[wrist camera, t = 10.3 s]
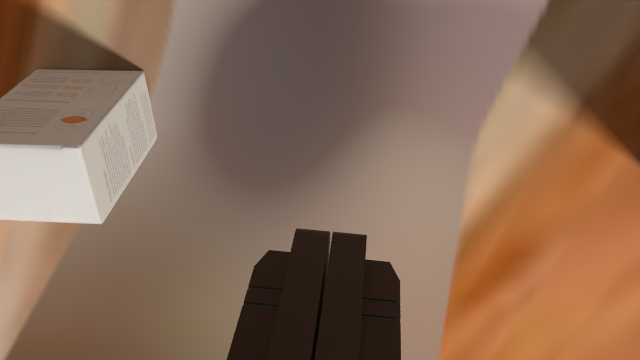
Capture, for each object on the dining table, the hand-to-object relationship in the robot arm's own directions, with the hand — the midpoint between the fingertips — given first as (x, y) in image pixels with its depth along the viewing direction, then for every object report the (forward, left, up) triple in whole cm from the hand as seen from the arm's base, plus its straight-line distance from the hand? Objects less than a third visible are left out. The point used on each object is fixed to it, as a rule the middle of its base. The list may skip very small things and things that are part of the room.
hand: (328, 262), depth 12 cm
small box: (+19, +11, -27) cm, 34 cm away
